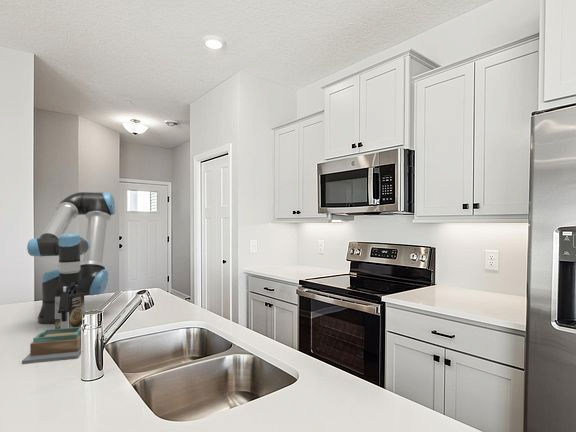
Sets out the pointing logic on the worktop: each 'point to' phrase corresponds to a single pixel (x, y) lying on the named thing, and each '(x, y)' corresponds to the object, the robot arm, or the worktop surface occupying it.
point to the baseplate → (51, 357)
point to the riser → (56, 341)
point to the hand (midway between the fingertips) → (69, 324)
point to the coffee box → (71, 310)
